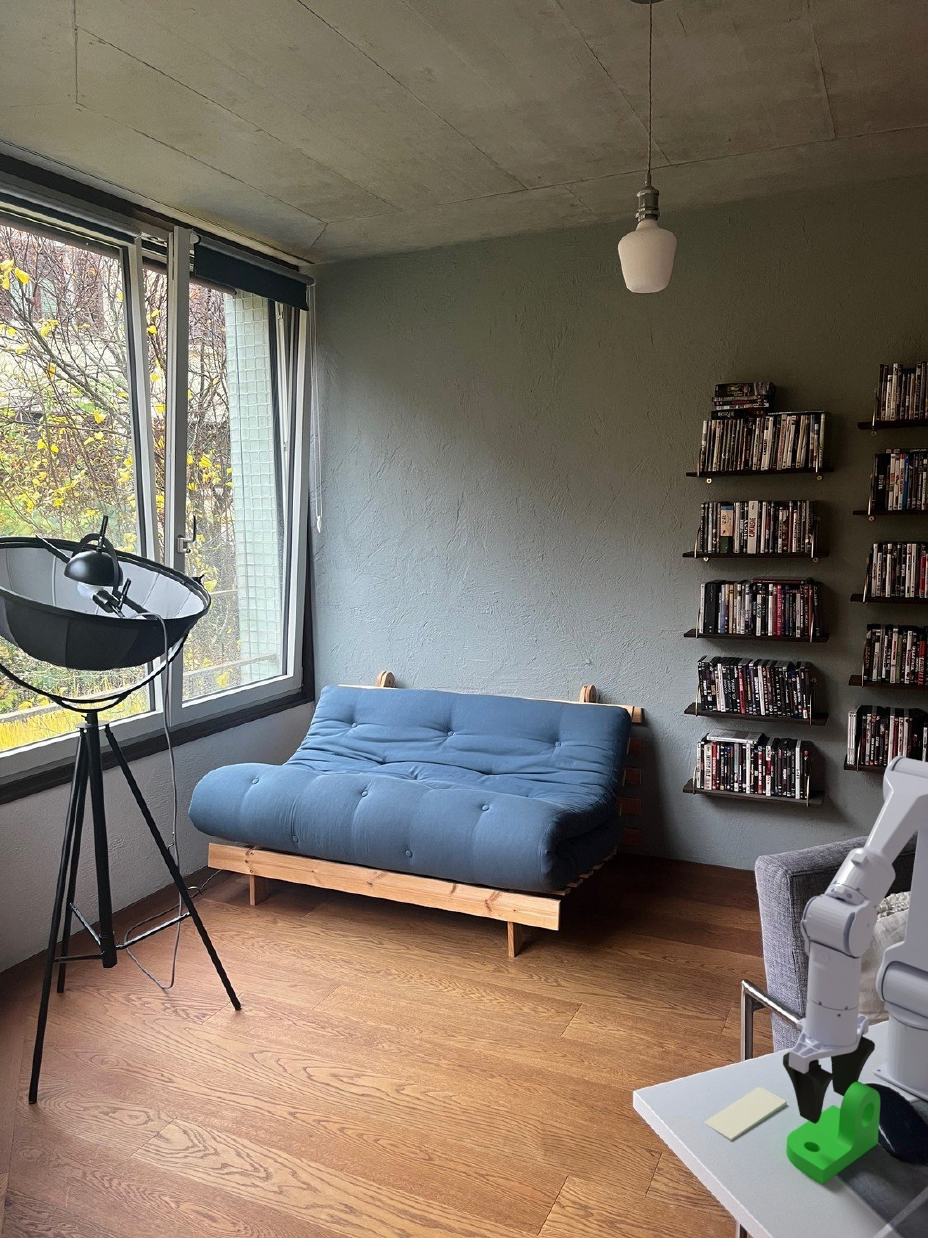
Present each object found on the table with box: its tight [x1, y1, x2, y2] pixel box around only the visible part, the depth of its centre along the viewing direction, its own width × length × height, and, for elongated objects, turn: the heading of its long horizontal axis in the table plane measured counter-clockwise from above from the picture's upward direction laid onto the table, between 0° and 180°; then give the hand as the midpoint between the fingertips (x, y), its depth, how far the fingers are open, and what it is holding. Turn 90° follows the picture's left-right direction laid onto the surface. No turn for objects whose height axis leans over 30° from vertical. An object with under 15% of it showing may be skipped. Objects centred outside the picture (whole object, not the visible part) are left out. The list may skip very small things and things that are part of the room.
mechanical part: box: [786, 1081, 881, 1185], centre depth 112 cm, size 12×6×8 cm, turn 128°
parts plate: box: [703, 1086, 788, 1142], centre depth 118 cm, size 12×4×1 cm, turn 129°
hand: (826, 1106), depth 113 cm, fingers open, 7 cm apart
